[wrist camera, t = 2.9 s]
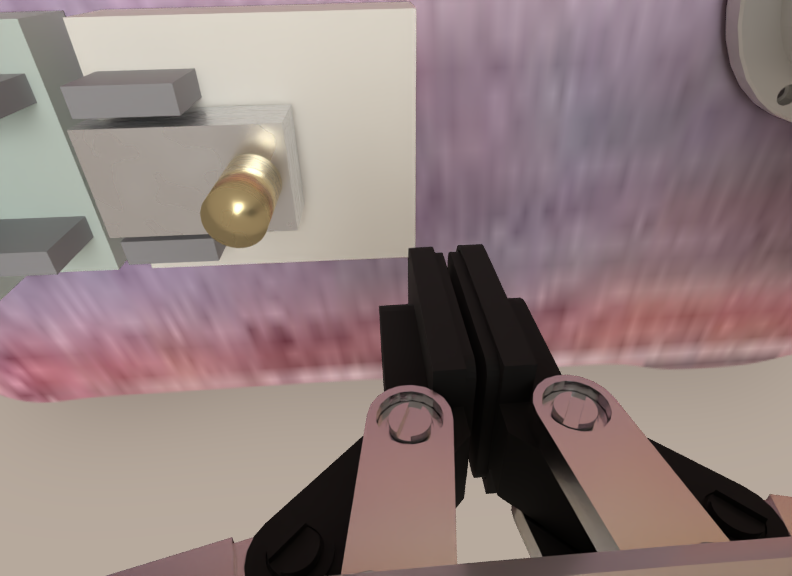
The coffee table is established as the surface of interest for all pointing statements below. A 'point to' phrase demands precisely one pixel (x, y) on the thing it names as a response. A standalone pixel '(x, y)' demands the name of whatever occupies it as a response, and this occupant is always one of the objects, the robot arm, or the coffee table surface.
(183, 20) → the door board
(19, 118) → the door jamb
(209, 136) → the bolt
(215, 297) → the coffee table surface
